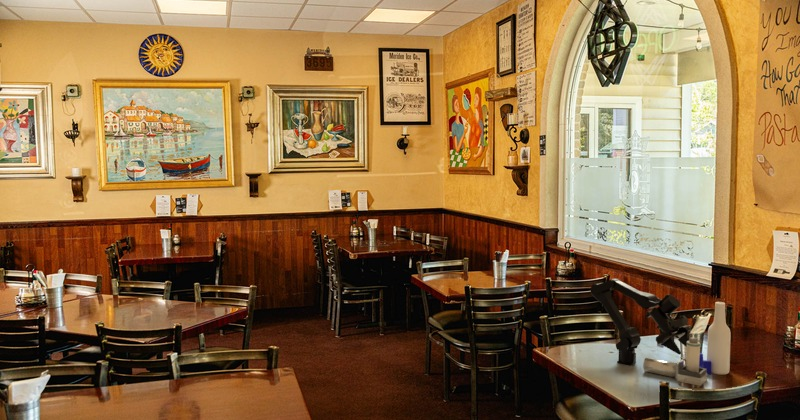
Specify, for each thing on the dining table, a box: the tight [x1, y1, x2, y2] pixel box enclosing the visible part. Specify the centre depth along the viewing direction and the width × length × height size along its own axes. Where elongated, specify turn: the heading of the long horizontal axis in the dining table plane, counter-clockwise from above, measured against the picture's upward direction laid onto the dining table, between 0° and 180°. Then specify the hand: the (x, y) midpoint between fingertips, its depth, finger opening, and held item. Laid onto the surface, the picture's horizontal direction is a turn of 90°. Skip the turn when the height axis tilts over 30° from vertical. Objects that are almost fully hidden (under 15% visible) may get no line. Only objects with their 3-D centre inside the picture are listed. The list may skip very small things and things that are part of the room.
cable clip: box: [699, 352, 712, 376], centre depth 285 cm, size 12×4×6 cm, turn 174°
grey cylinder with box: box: [642, 357, 708, 387], centre depth 277 cm, size 24×9×7 cm, turn 50°
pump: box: [685, 337, 701, 373], centre depth 271 cm, size 5×5×15 cm
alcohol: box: [706, 301, 732, 376], centre depth 282 cm, size 9×9×30 cm
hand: (686, 352), depth 274 cm, fingers open, 9 cm apart
